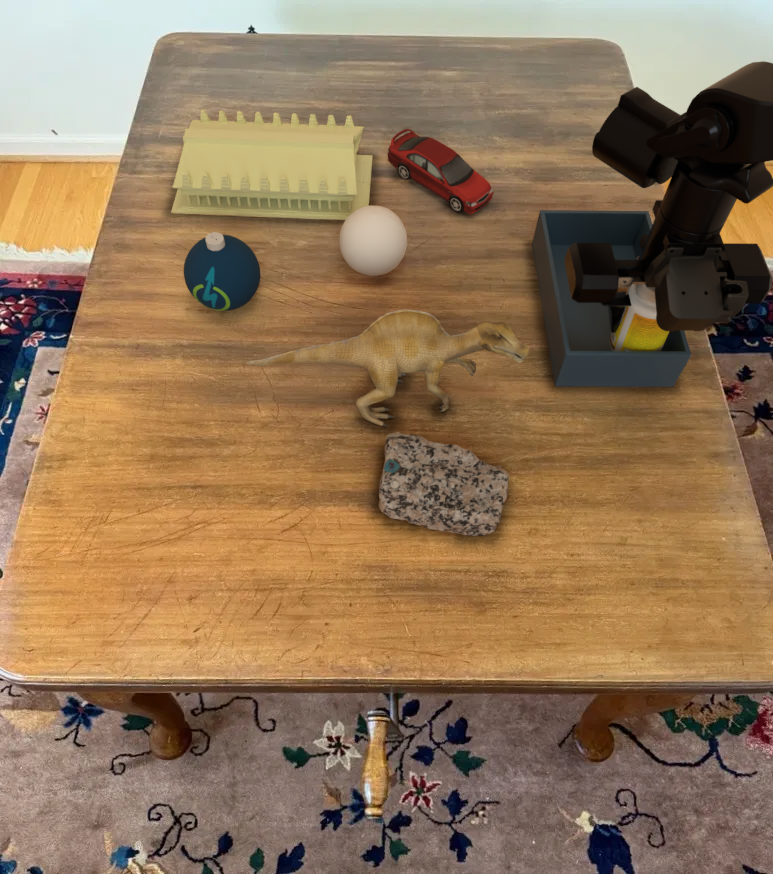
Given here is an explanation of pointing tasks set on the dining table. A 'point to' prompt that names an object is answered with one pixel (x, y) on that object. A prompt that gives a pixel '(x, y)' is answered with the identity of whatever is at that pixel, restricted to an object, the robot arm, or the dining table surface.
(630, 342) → the supplement bottle
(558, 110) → the dining table surface
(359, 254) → the ball
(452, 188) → the toy car
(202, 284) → the christmas ornament
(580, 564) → the dining table surface
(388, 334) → the dinosaur figurine
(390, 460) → the rock
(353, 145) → the model building
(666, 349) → the storage tote
